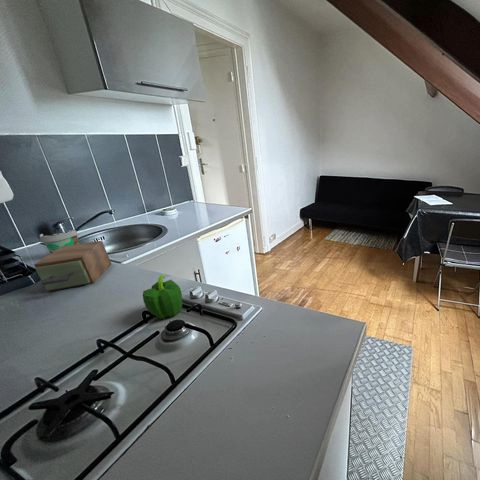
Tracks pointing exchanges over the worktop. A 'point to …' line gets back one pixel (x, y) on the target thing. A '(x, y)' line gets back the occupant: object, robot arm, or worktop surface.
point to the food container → (59, 240)
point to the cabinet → (89, 255)
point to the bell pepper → (163, 298)
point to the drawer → (63, 274)
